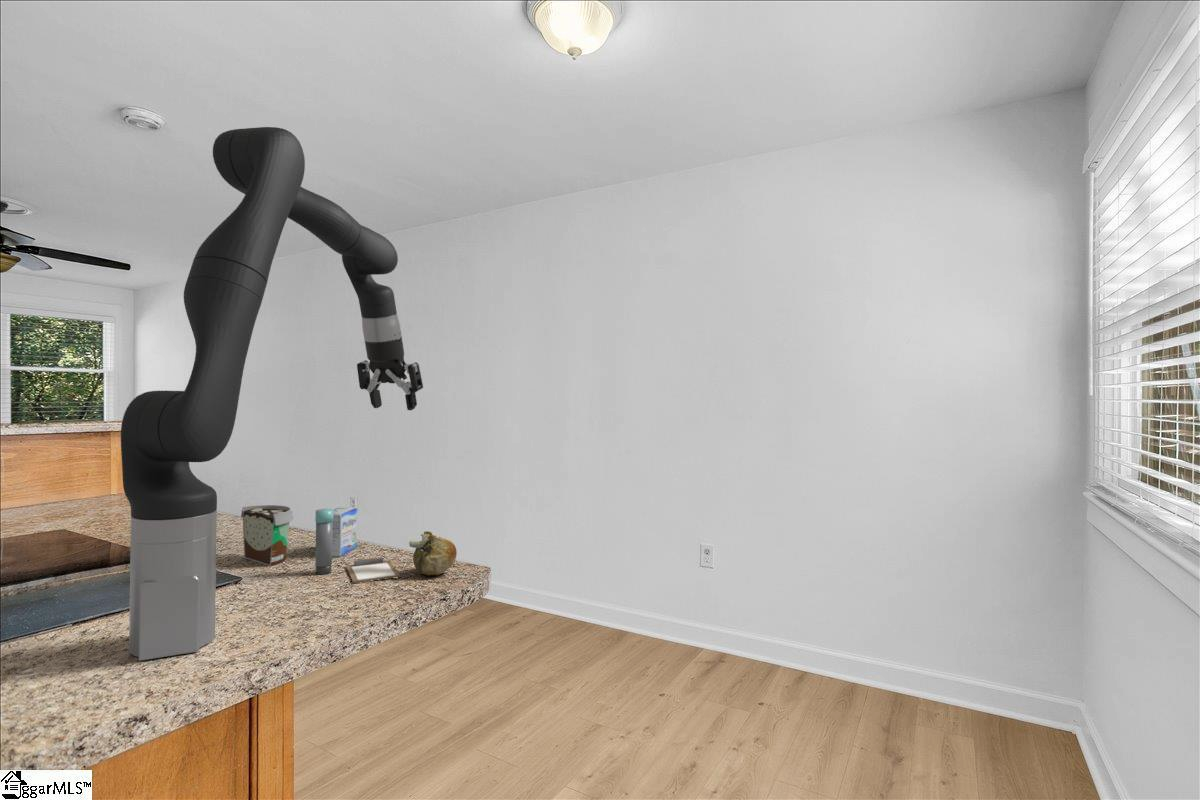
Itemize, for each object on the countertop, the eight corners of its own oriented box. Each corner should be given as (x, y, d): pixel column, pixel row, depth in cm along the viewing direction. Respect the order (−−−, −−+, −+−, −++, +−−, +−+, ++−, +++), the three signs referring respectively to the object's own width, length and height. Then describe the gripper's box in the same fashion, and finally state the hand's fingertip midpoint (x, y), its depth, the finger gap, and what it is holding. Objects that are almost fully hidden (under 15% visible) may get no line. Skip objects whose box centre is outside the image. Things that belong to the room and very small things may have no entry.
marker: (333, 573, 110) (334, 511, 110) (315, 576, 109) (316, 512, 108) (331, 569, 113) (332, 508, 113) (313, 571, 111) (314, 509, 111)
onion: (447, 581, 107) (448, 536, 107) (404, 578, 108) (405, 534, 108) (461, 568, 115) (462, 527, 115) (421, 566, 116) (422, 525, 116)
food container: (305, 560, 118) (306, 509, 118) (274, 567, 113) (275, 514, 113) (271, 550, 125) (271, 502, 125) (240, 557, 120) (241, 506, 120)
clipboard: (400, 577, 109) (400, 571, 109) (353, 583, 105) (353, 577, 105) (389, 562, 118) (389, 556, 118) (345, 567, 114) (345, 561, 114)
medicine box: (340, 557, 121) (341, 514, 121) (318, 556, 121) (319, 514, 121) (357, 547, 129) (358, 507, 129) (336, 546, 129) (337, 506, 129)
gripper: (342, 339, 126) (356, 412, 131) (402, 341, 122) (414, 416, 127) (364, 331, 132) (376, 401, 138) (422, 332, 129) (432, 404, 134)
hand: (394, 408), depth 133 cm, fingers open, 8 cm apart
